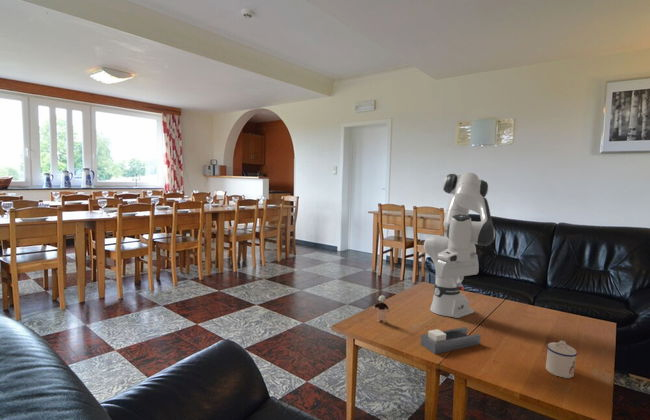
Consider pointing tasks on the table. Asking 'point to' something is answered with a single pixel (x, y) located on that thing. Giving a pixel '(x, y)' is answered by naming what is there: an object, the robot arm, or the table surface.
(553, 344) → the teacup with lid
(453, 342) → the chute
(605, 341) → the table surface
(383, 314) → the grandmother figurine
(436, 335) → the block
